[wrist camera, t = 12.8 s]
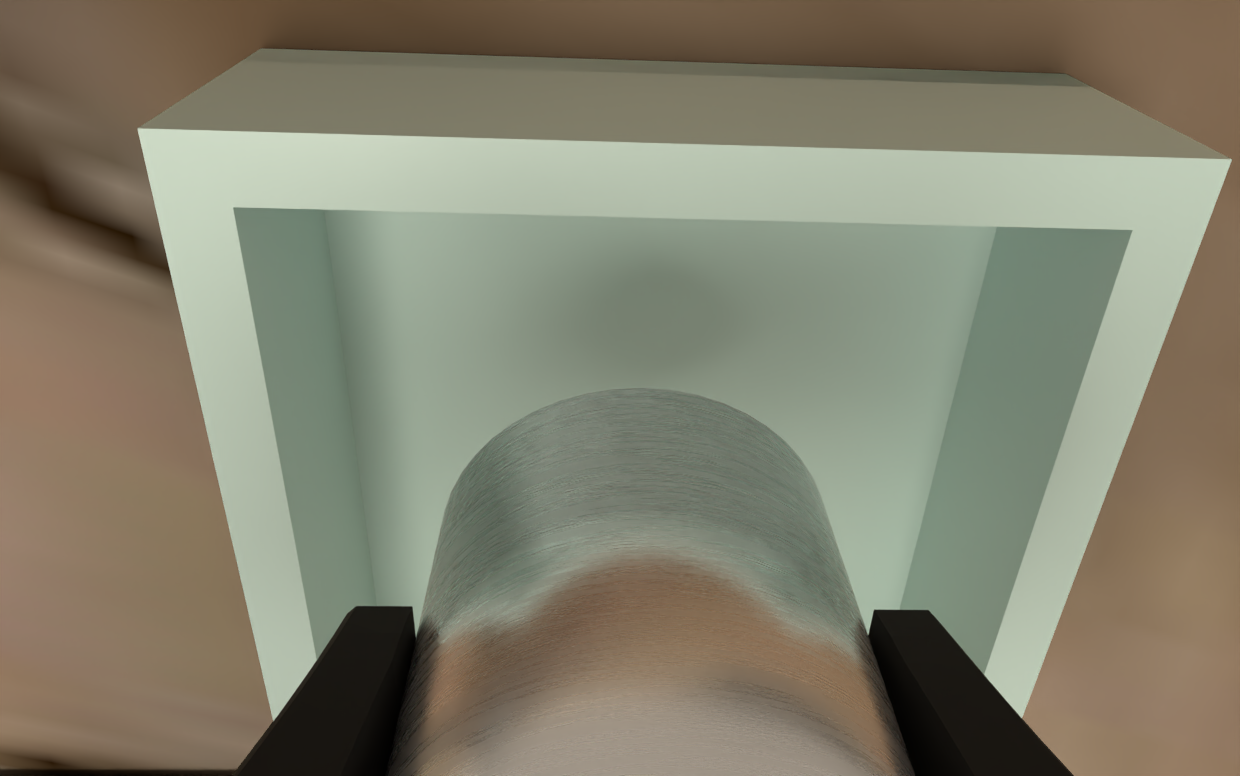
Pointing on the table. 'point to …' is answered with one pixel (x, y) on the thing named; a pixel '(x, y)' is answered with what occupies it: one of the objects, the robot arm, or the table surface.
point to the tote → (672, 304)
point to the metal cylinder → (641, 607)
